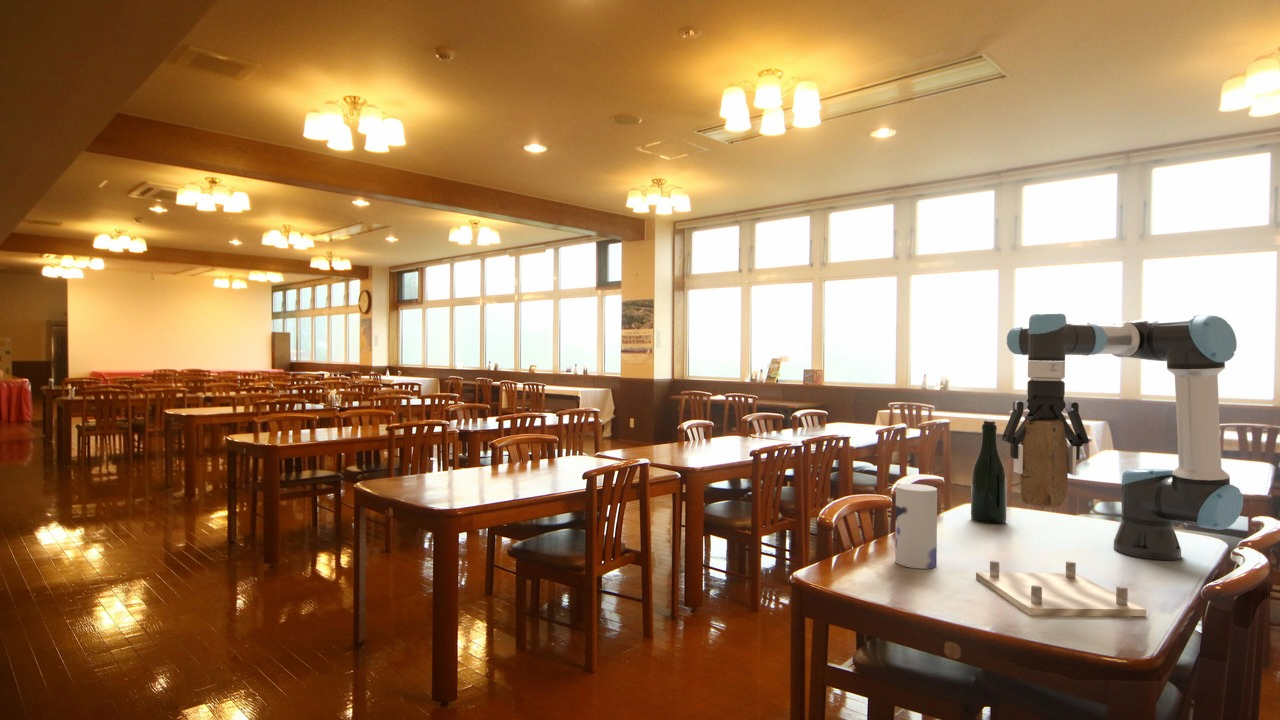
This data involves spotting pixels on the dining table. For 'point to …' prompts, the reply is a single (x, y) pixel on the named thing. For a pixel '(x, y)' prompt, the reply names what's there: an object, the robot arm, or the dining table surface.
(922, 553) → the container
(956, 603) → the dining table surface
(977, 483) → the beer bottle
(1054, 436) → the block
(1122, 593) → the peg stand
